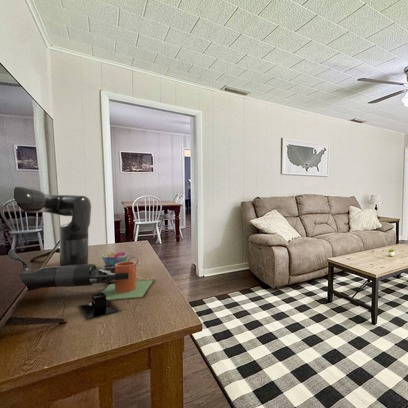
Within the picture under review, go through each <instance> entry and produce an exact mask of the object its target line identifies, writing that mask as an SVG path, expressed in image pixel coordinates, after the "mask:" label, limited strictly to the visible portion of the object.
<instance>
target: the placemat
mask: <svg viewBox="0 0 408 408" xmlns="http://www.w3.org/2000/svg"><path fill="white" fill-rule="evenodd" d="M153 282H154V280H153V279H148V280H136V289H135V290H133V291H130V292H126V293H116V292H115V282H114V283H109V285H107V287H106V288H105V289H103V290H102V291H101V292H100V293H104V294H105V295H106V300H107V299H108V300H109V301H114V300H125V299H126V300H127V299H137V298H143V296H144V295H145V294H146V292H147V291H148V290H149V288H150V286H151V285H152V283H153Z"/></svg>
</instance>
